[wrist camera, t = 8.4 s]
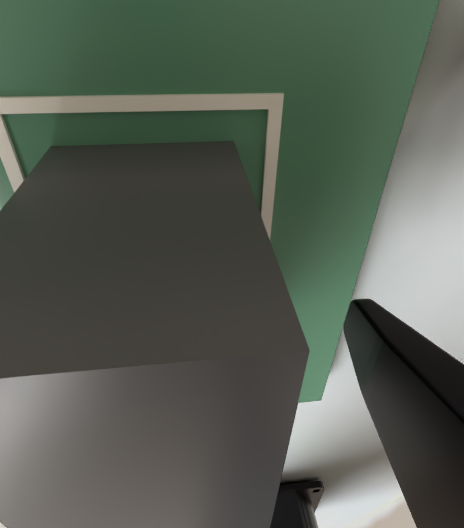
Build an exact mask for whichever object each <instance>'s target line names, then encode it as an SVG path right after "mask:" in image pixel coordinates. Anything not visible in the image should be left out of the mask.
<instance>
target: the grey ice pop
mask: <svg viewBox="0 0 464 528" xmlns="http://www.w3.org/2000/svg"><path fill="white" fill-rule="evenodd" d="M309 352H310V350H309V347H308V344H307V341H306V339H305V336H304V333H303V330H302V328H301V325H300V322H299V319H298V317H297V314H296V311H295V308H294V305H293V303H292V300H291V297H290V294H289V292H288V289H287V286H286V283H285V281H284V278H283V275H282V272H281V270H280V267H279V264H278V261H277V259H276V256H275V253H274V250H273V248H272V245H271V242H270V239H269V237H268V234H267V231H266V228H265V226H264V223H263V220H262V217H261V215H260V212H259V209H258V206H257V204H256V201H255V198H254V195H253V193H252V190H251V187H250V184H249V181H248V179H247V176H246V173H245V170H244V168H243V165H242V162H241V159H240V157H239V154H238V151H237V148H236V146H235V143H234V141H214V142H179V143H144V144H110V145H75V146H51V147H50V148H49V149H48V150H47V152H46V153H45V154H44V155H43V157H42V158H41V159H40V161H39V162H38V163H37V164H36V166H35V167H34V168H33V170H32V171H31V172H30V173H29V175H28V176H27V177H26V179H25V180H24V181H23V182H22V184H21V185H20V186H19V188H18V189H17V190H16V191H15V193H14V194H13V195H12V196H11V198H10V199H9V200H8V202H7V203H6V204H5V205H4V207H3V208H2V209H1V211H0V522H1V523H2V524H3V525H4V526H5V527H6V528H270V525H271V521H272V517H273V512H274V508H275V503H276V499H277V494H278V490H279V485H280V481H281V476H282V472H283V468H284V463H285V459H286V454H287V450H288V445H289V441H290V436H291V432H292V427H293V423H294V419H295V414H296V410H297V405H298V401H299V396H300V392H301V387H302V383H303V378H304V374H305V370H306V365H307V361H308V356H309Z"/></svg>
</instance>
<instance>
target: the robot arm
mask: <svg viewBox="0 0 464 528" xmlns="http://www.w3.org/2000/svg"><path fill="white" fill-rule="evenodd" d="M344 334H345V338H346V341H347V345H348V348H349V352H350V355H351V359H352V362H353V365H354V369H355V372H356V376H357V379H358V383H359V386H360V389H361V392H362V395H363V398H364V400H365V403H366V405H367V408H368V410H369V413H370V415H371V418H372V420H373V422H374V425H375V427H376V430H377V432H378V435H379V437H380V439H381V442H382V444H383V447H384V449H385V452H386V454H387V456H388V459H389V461H390V464H391V466H392V468H393V471H394V473H395V476H396V478H397V481H398V483H399V485H400V488H401V490H402V493H403V495H404V498H405V500H406V502H407V505H408V507H409V510H410V512H411V514H412V517H413V519H414V522H415V524H416V527H417V528H464V364H462V363H461V362H460V361H458V360H457V359H455V358H454V357H452V356H451V355H450V354H448V353H447V352H445V351H444V350H442V349H441V348H440V347H438V346H437V345H435V344H434V343H433V342H431V341H430V340H428V339H427V338H425V337H424V336H423V335H421V334H420V333H418V332H417V331H415V330H414V329H413V328H411V327H410V326H408V325H407V324H406V323H404V322H403V321H401V320H400V319H398V318H397V317H396V316H394V315H393V314H391V313H390V312H388V311H387V310H386V309H384V308H383V307H381V306H380V305H379V304H377V303H376V302H374V301H373V300H371V299H355V300H352V301H351V303H350V305H349V308H348V312H347V315H346V319H345V322H344ZM323 491H324V487H323V484H322V482H321V481H310V482H302V483H294V484H286V485H279V490H278V494H277V499H276V503H275V508H274V512H273V517H272V521H271V525H270V528H318V525H317V522H316V518H315V514H314V513H315V510H316V508H317V505H318V503H319V501H320V498H321V496H322V494H323Z"/></svg>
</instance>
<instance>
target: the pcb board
mask: <svg viewBox="0 0 464 528" xmlns="http://www.w3.org/2000/svg"><path fill="white" fill-rule="evenodd" d="M438 3H439V0H0V211H1V209H2V208H3V207H4V205H5V204H6V203H7V202H8V200H9V199H10V198H11V196H12V195H13V194H14V193H15V191H16V190H17V189H18V188H19V186H20V185H21V184H22V182H23V181H24V180H25V179H26V177H27V176H28V175H29V173H30V172H31V171H32V170H33V168H34V167H35V166H36V164H37V163H38V162H39V161H40V159H41V158H42V157H43V155H44V154H45V153H46V152H47V150H48V149H49V148H50V147H51V146H75V145H110V144H144V143H179V142H214V141H234V143H235V146H236V148H237V151H238V154H239V157H240V159H241V162H242V165H243V168H244V170H245V173H246V176H247V179H248V181H249V184H250V187H251V190H252V193H253V195H254V198H255V201H256V204H257V206H258V209H259V212H260V215H261V217H262V220H263V223H264V226H265V228H266V231H267V234H268V237H269V239H270V242H271V245H272V248H273V250H274V253H275V256H276V259H277V261H278V264H279V267H280V270H281V272H282V275H283V278H284V281H285V283H286V286H287V289H288V292H289V294H290V297H291V300H292V303H293V305H294V308H295V311H296V314H297V317H298V319H299V322H300V325H301V328H302V330H303V333H304V336H305V339H306V341H307V344H308V347H309V350H310V352H309V356H308V361H307V365H306V370H305V374H304V378H303V383H302V387H301V392H300V396H299V401H298V403H300V402H310V401H320V400H321V399H322V396H323V392H324V389H325V385H326V382H327V379H328V375H329V372H330V368H331V365H332V362H333V358H334V355H335V352H336V348H337V345H338V341H339V338H340V335H341V331H342V328H343V324H344V321H345V318H346V314H347V311H348V308H349V304H350V301H351V297H352V294H353V291H354V287H355V284H356V281H357V277H358V274H359V270H360V267H361V264H362V260H363V257H364V253H365V250H366V247H367V243H368V240H369V237H370V233H371V230H372V226H373V223H374V220H375V216H376V213H377V209H378V206H379V203H380V199H381V196H382V193H383V189H384V186H385V182H386V179H387V176H388V172H389V169H390V166H391V162H392V159H393V155H394V152H395V149H396V145H397V142H398V138H399V135H400V132H401V128H402V125H403V122H404V118H405V115H406V111H407V108H408V105H409V101H410V98H411V94H412V91H413V88H414V84H415V81H416V78H417V74H418V71H419V67H420V64H421V61H422V57H423V54H424V51H425V47H426V44H427V40H428V37H429V34H430V30H431V27H432V23H433V20H434V17H435V13H436V10H437V7H438Z"/></svg>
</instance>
